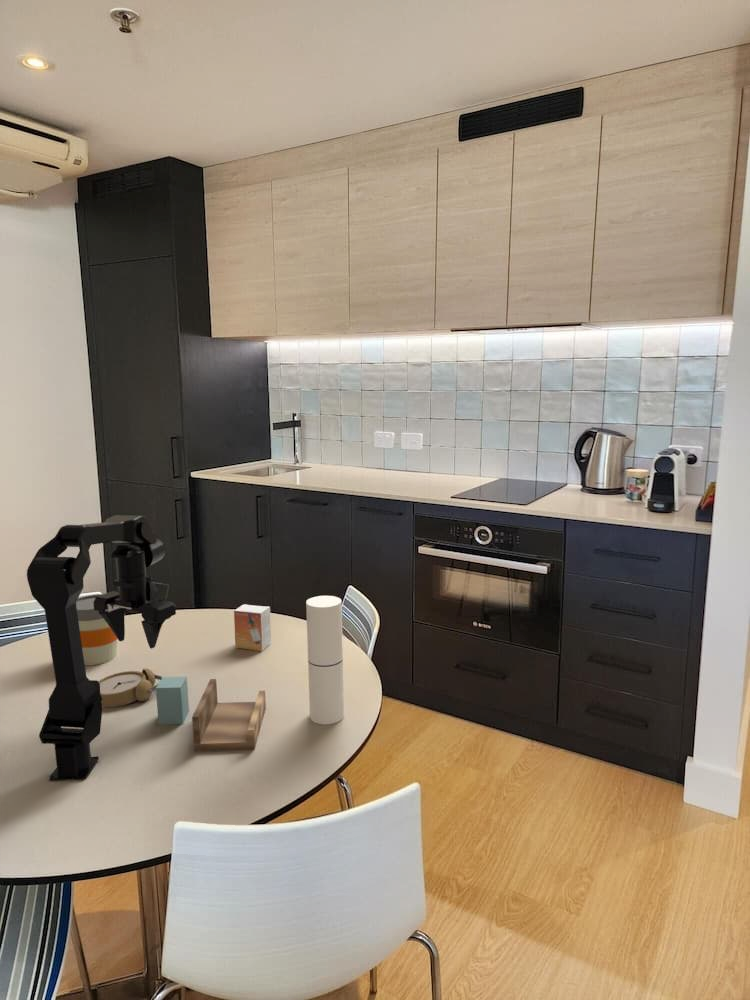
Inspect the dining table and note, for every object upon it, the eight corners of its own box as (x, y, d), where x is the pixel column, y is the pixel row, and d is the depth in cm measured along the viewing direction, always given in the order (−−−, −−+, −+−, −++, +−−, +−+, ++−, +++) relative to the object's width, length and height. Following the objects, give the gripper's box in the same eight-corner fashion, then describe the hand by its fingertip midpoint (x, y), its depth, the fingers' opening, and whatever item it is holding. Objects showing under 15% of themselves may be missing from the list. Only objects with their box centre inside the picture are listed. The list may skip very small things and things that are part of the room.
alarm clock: (97, 676, 150) (162, 659, 152) (102, 695, 151) (168, 678, 153) (85, 698, 139) (156, 680, 141) (92, 719, 140) (162, 700, 142)
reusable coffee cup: (130, 647, 173) (126, 593, 170) (113, 667, 160) (108, 609, 158) (83, 648, 172) (77, 594, 170) (62, 668, 160) (56, 610, 157)
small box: (234, 648, 171) (232, 610, 169) (245, 640, 176) (243, 603, 174) (262, 651, 169) (260, 613, 167) (272, 643, 174) (270, 606, 172)
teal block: (183, 723, 133) (180, 687, 132) (158, 724, 133) (155, 688, 132) (189, 711, 138) (186, 676, 137) (165, 712, 138) (162, 677, 137)
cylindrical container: (313, 726, 131) (309, 608, 127) (307, 709, 138) (303, 597, 134) (347, 721, 133) (345, 605, 129) (340, 705, 140) (337, 594, 136)
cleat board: (254, 749, 123) (253, 715, 122) (194, 751, 123) (192, 717, 122) (265, 707, 139) (264, 677, 138) (212, 709, 139) (210, 678, 138)
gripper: (192, 569, 140) (196, 638, 142) (130, 560, 148) (135, 625, 151) (153, 583, 130) (158, 657, 133) (89, 572, 139) (94, 642, 141)
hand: (136, 644), depth 140 cm, fingers open, 9 cm apart
